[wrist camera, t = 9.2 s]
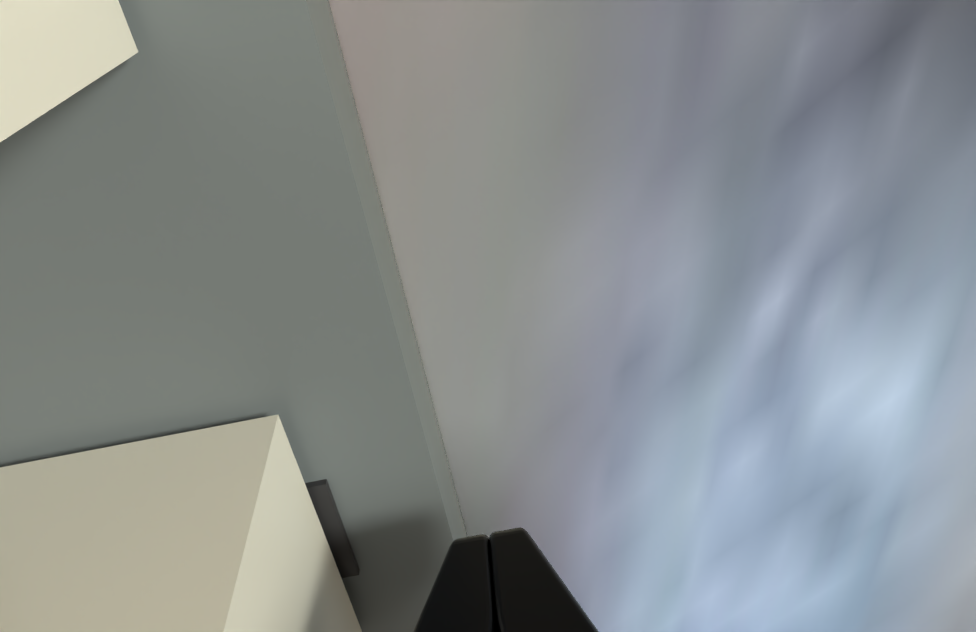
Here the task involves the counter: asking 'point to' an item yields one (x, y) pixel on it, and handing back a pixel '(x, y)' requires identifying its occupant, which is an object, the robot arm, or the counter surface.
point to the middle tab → (55, 53)
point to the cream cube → (169, 539)
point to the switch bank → (226, 280)
